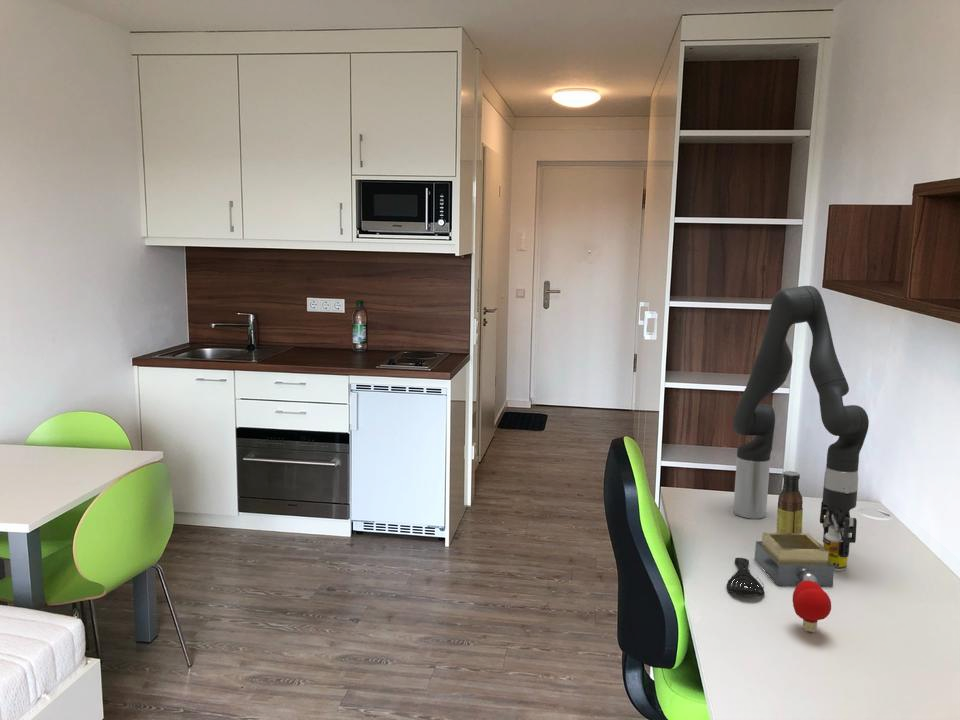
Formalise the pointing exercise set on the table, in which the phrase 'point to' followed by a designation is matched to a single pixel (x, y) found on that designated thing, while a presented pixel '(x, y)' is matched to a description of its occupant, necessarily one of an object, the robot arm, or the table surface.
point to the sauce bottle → (790, 505)
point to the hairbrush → (744, 580)
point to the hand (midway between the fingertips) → (835, 549)
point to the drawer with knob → (794, 559)
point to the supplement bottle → (834, 549)
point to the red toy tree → (811, 604)
